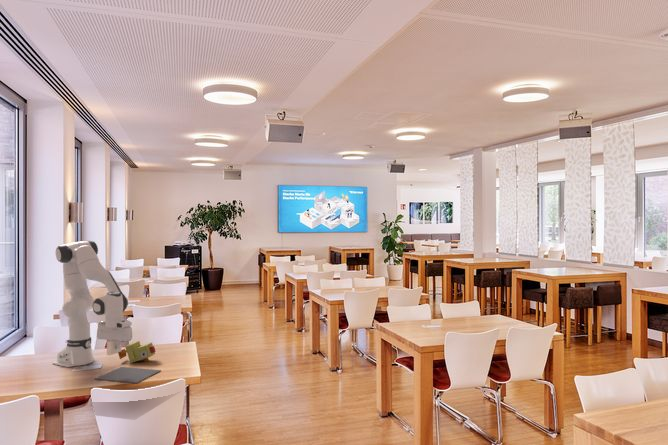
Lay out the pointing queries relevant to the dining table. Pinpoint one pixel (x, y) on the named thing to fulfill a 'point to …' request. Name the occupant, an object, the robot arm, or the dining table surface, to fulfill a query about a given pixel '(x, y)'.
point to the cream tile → (112, 347)
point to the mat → (128, 375)
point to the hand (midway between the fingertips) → (114, 348)
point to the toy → (138, 351)
